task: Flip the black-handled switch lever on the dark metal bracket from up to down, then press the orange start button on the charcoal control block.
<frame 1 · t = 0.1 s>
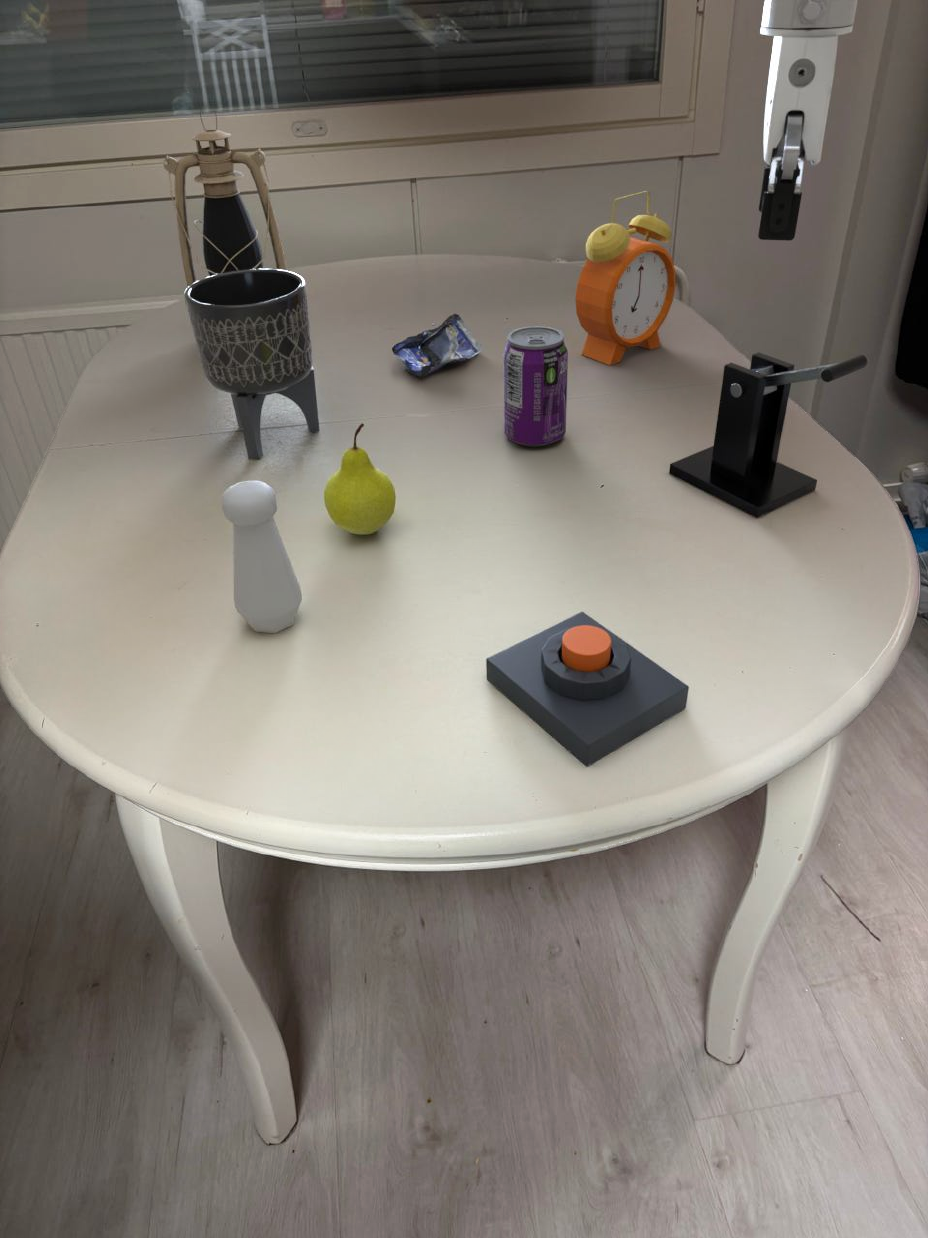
hand: (775, 224, 89), 24 cm above the table, tool pointing down, fingers open, 9 cm apart
fruit: (364, 530, 93), on the table
beverage can: (534, 438, 108), on the table
start button: (586, 648, 69), point 4 cm above the table, slide at 0.1 cm
lantern: (247, 333, 139), on the table
planter: (272, 438, 110), on the table
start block: (583, 693, 72), on the table
switch lever: (794, 376, 87), point 13 cm above the table, hinge at 25.0°
snack package: (437, 364, 127), on the table
alarm clock: (622, 351, 128), on the table
switch bracket: (740, 481, 97), on the table
salt shaker: (272, 621, 81), on the table
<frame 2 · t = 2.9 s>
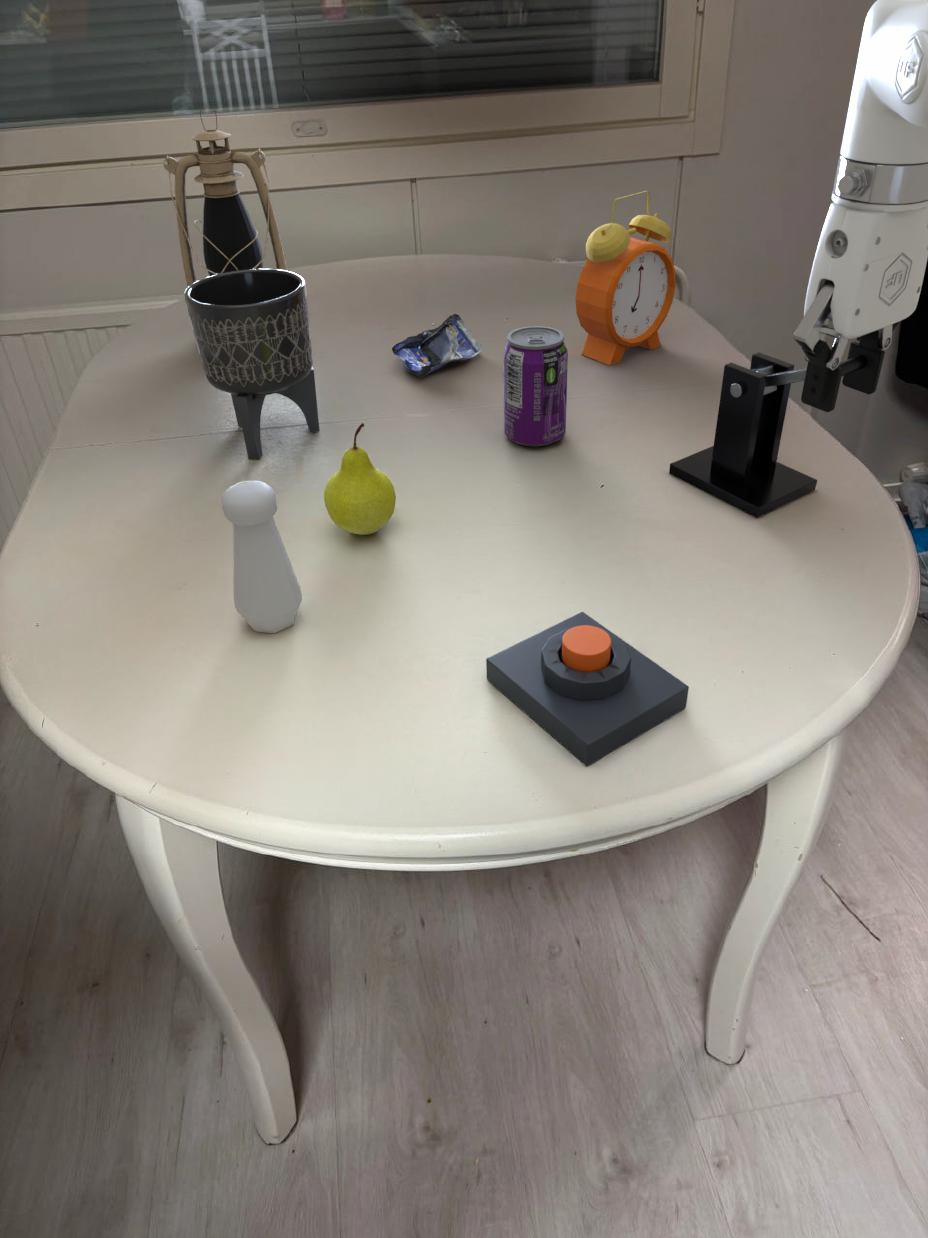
hand: (838, 395, 84), 13 cm above the table, tool pointing down, fingers closed on switch lever, 5 cm apart
switch lever: (794, 376, 87), point 13 cm above the table, hinge at 25.0°, touching gripper
everything else where it was.
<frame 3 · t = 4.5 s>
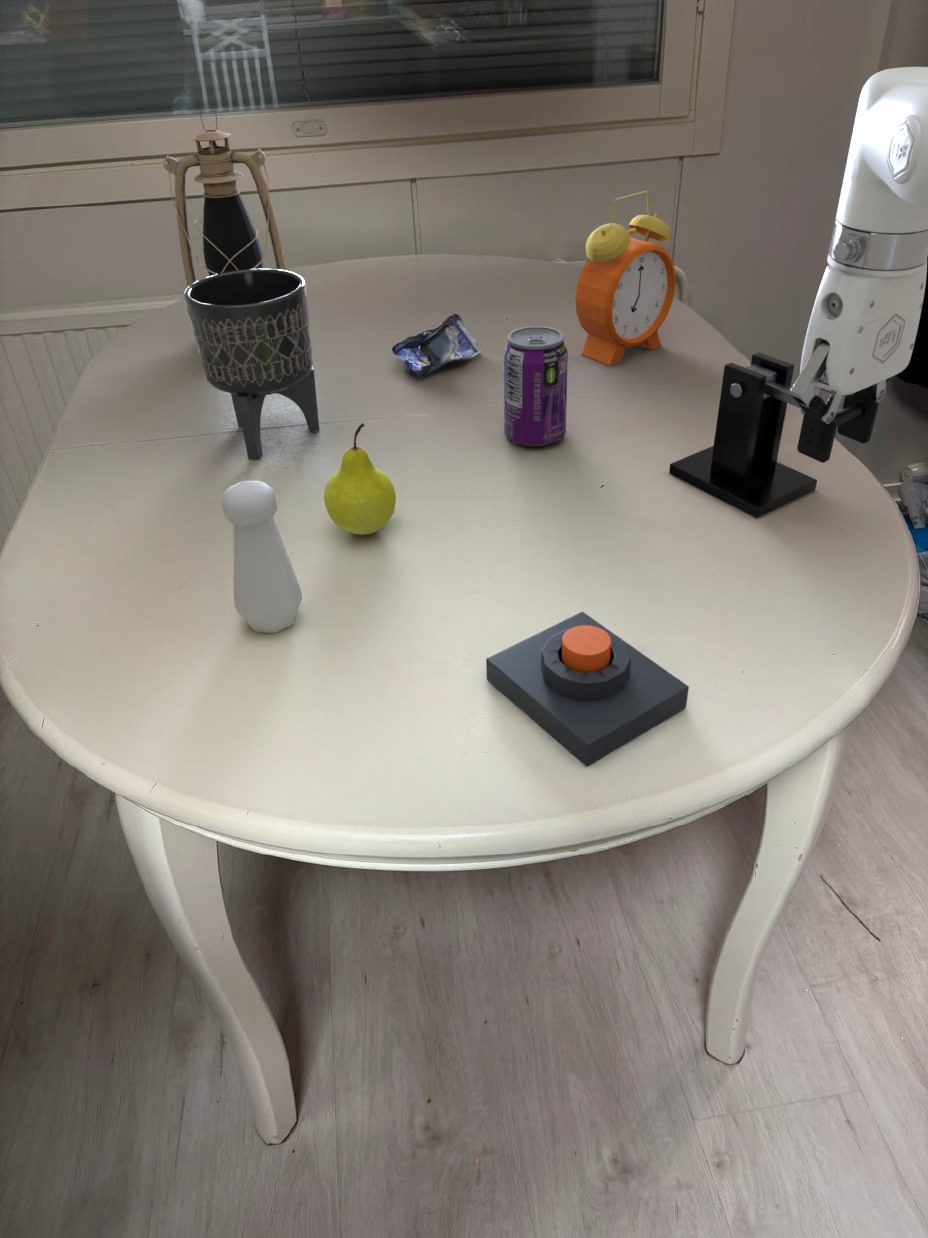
hand: (833, 445, 86), 8 cm above the table, tool pointing down, fingers closed on switch lever, 5 cm apart
switch lever: (794, 397, 88), point 11 cm above the table, hinge at -0.7°, touching gripper
everything else where it was.
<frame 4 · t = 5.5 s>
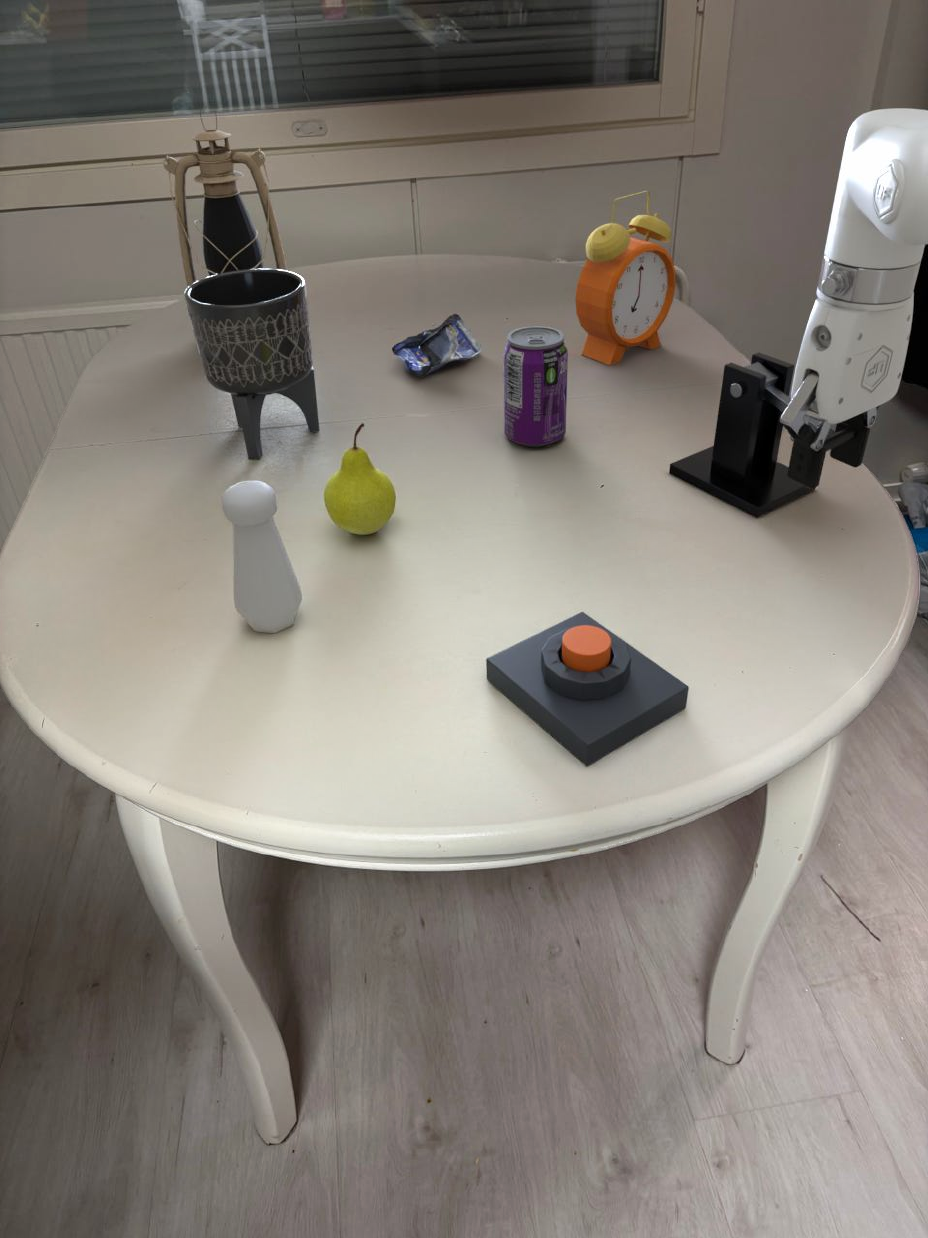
hand: (824, 470, 88), 5 cm above the table, tool pointing down, fingers open, 5 cm apart
switch lever: (791, 408, 88), point 10 cm above the table, hinge at -15.2°
everything else where it was.
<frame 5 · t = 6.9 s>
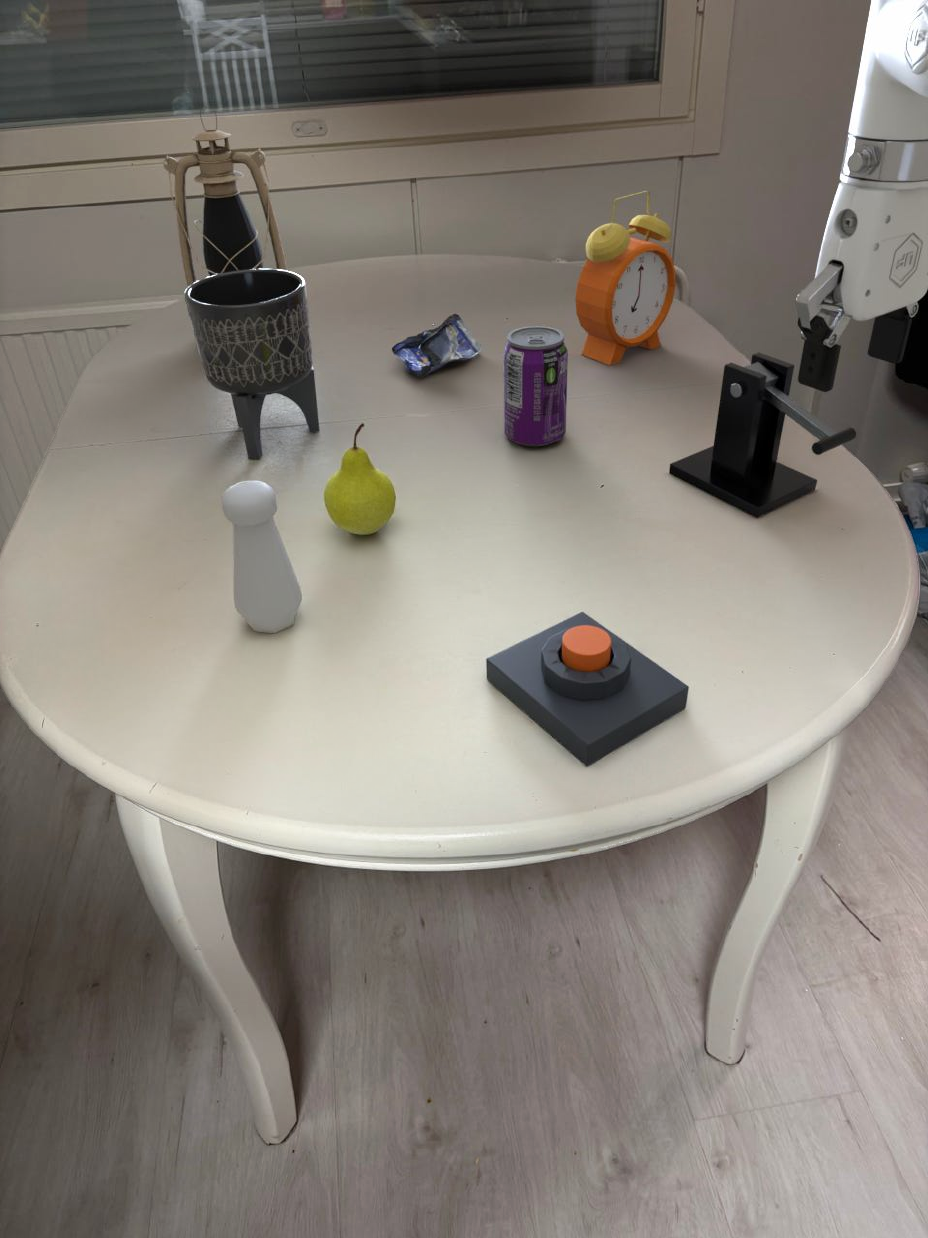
hand: (850, 372, 82), 15 cm above the table, tool pointing down, fingers open, 9 cm apart
nothing on the table moved.
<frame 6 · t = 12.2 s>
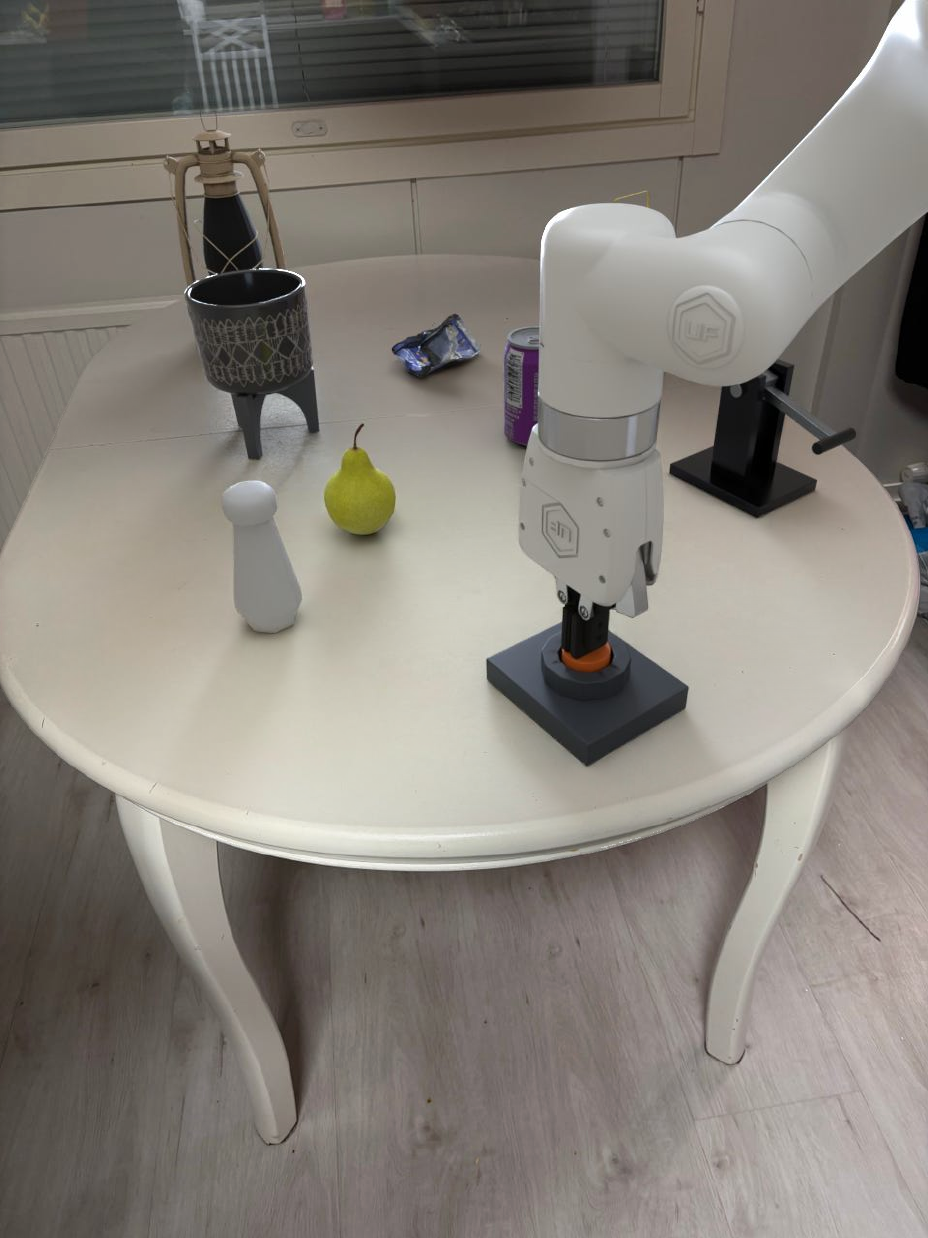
hand: (584, 646, 69), 5 cm above the table, tool pointing down, fingers closed
start button: (585, 656, 70), point 4 cm above the table, slide at -0.7 cm, touching gripper
everything else where it was.
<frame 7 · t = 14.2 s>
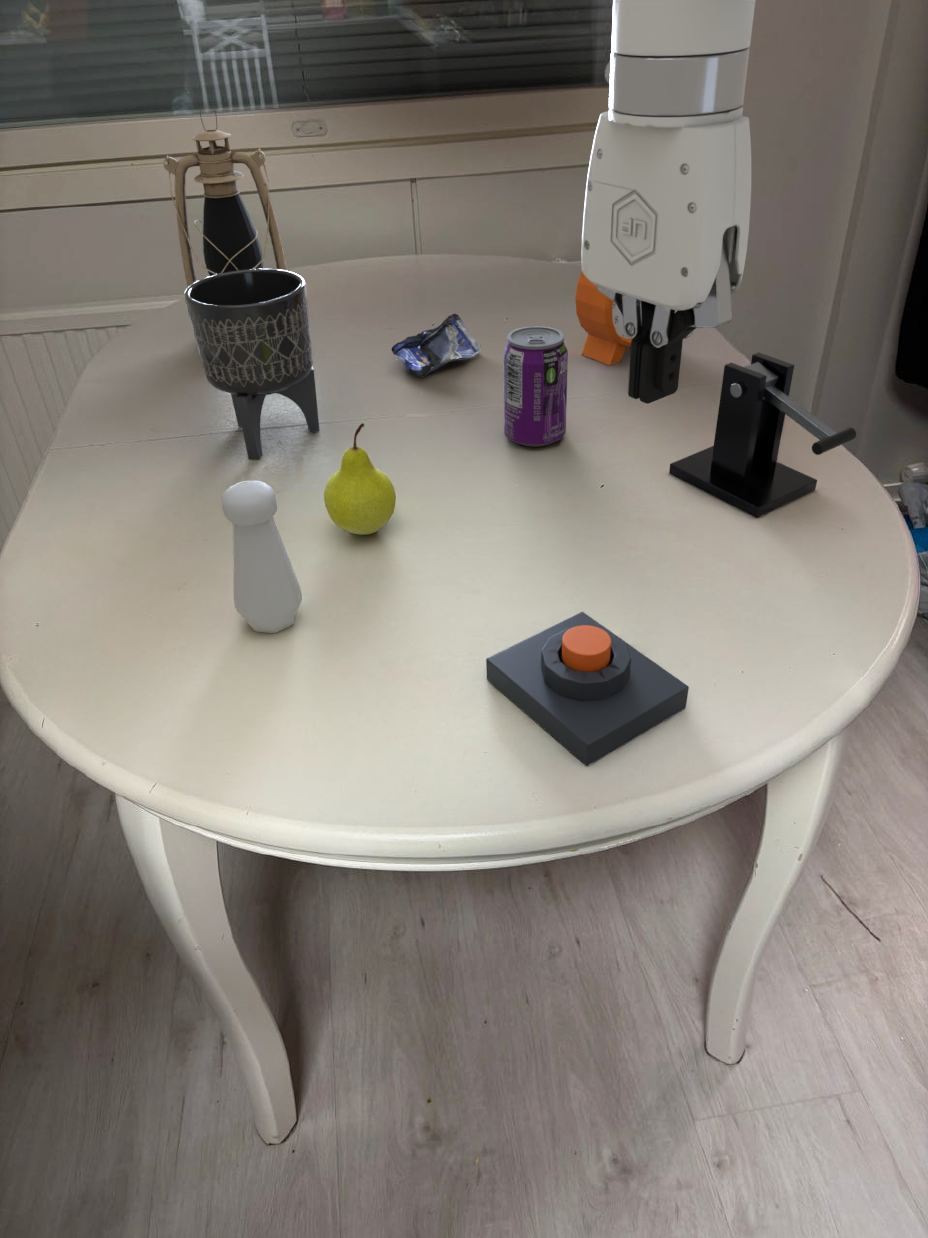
hand: (652, 394, 63), 22 cm above the table, tool pointing down, fingers closed
start button: (586, 648, 69), point 4 cm above the table, slide at 0.1 cm
everything else where it was.
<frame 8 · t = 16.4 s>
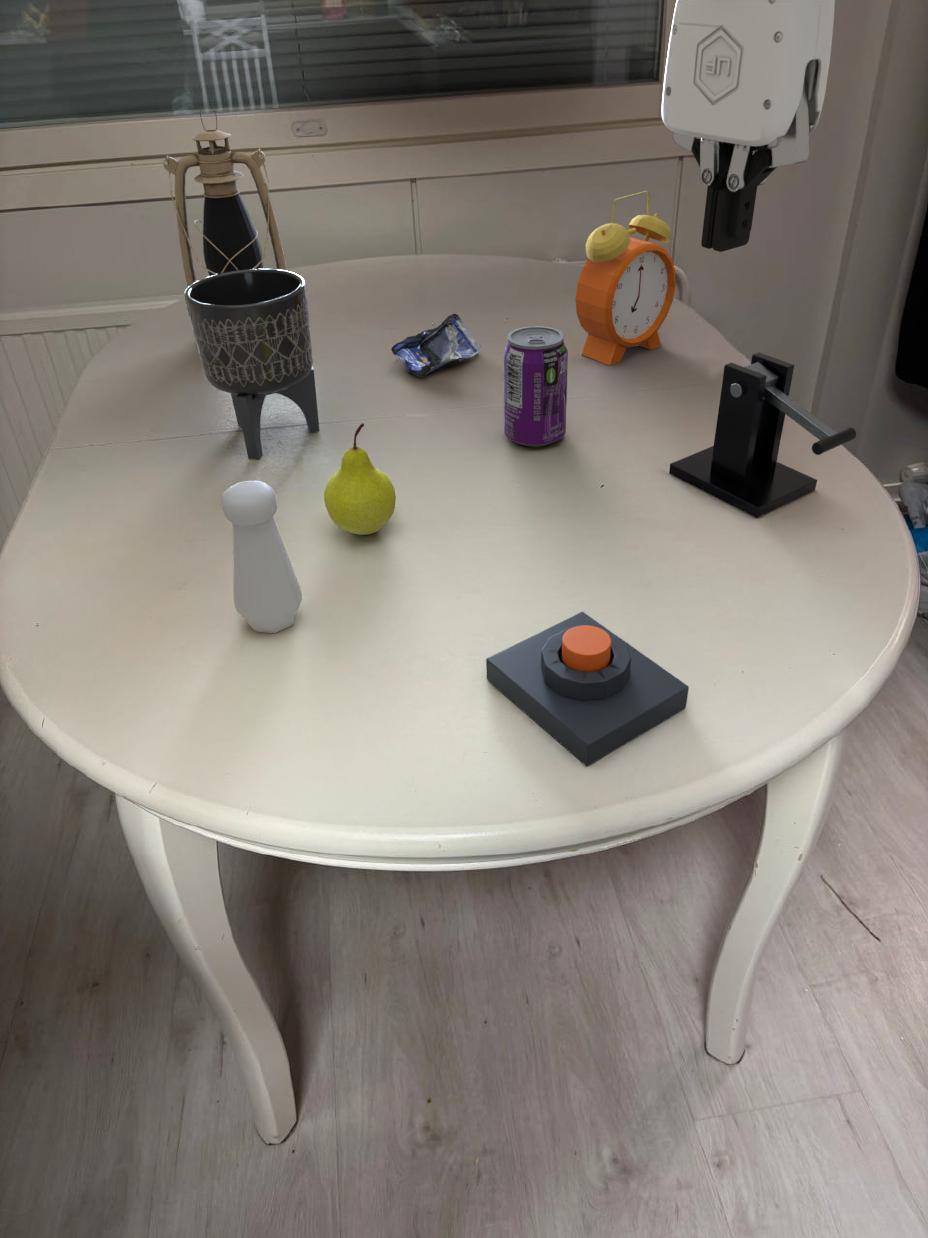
hand: (724, 245, 66), 29 cm above the table, tool pointing down, fingers closed
nothing on the table moved.
at the end: switch lever at -15° (first picture: +25°); start button pushed in 1.1 cm at the most during the clip, back to where it started at the end; start button slide at 0.1 cm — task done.
